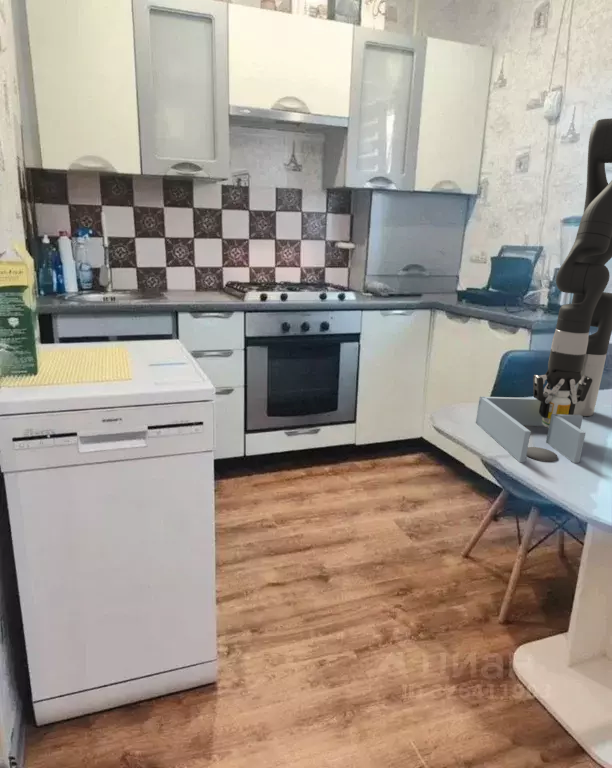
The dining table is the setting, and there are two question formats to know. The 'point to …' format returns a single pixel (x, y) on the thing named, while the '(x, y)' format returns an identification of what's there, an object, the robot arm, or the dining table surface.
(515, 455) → the channel
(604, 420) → the dining table surface
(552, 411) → the supplement bottle
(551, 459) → the pad
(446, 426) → the dining table surface
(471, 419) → the dining table surface
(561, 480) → the dining table surface
